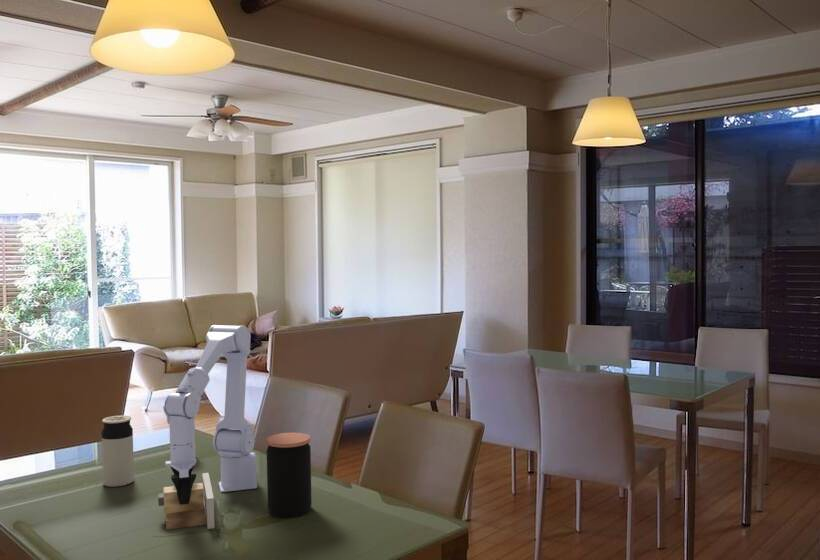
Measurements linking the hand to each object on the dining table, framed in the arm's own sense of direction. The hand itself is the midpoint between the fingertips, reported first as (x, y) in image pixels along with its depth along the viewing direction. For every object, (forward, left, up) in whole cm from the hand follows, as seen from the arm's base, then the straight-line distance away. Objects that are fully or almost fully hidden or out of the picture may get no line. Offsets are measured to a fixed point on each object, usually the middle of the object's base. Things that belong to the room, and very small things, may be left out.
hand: (183, 498), depth 172 cm
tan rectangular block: (0, 0, -2) cm, 2 cm away
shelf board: (-6, 0, -4) cm, 7 cm away
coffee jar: (-25, +5, -5) cm, 26 cm away
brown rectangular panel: (0, 0, -4) cm, 4 cm away
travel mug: (+16, -33, -5) cm, 37 cm away
